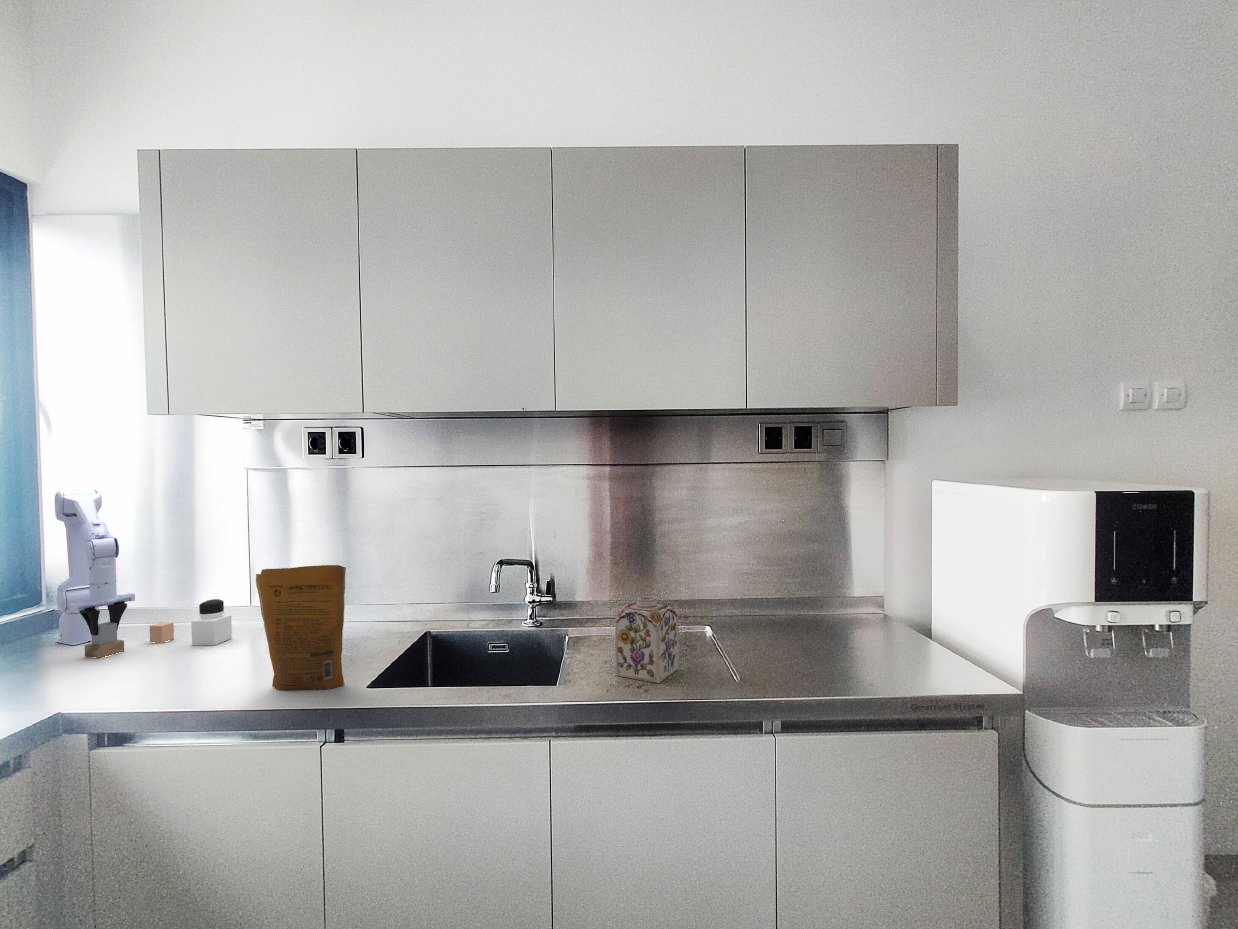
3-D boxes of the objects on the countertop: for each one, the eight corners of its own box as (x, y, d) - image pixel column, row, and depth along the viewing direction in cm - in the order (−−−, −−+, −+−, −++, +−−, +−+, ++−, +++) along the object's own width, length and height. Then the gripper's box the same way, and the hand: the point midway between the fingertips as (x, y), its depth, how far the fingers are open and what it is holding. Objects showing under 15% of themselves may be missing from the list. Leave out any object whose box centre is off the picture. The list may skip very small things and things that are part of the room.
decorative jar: (659, 684, 145) (657, 605, 144) (614, 676, 150) (612, 600, 150) (680, 669, 155) (679, 594, 155) (637, 662, 161) (636, 590, 160)
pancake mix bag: (342, 692, 143) (339, 566, 143) (256, 694, 143) (253, 568, 142) (354, 681, 150) (351, 561, 149) (271, 683, 149) (269, 563, 149)
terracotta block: (149, 643, 185) (149, 625, 185) (162, 639, 189) (161, 622, 189) (161, 643, 184) (161, 626, 184) (173, 639, 188) (173, 622, 188)
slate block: (91, 643, 173) (91, 625, 173) (108, 639, 177) (108, 621, 177) (100, 645, 172) (99, 626, 172) (117, 641, 175) (116, 623, 175)
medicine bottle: (232, 638, 188) (231, 597, 188) (214, 645, 181) (213, 603, 181) (209, 638, 189) (208, 597, 189) (191, 645, 182) (190, 603, 182)
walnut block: (84, 658, 172) (84, 645, 172) (108, 651, 178) (107, 638, 178) (101, 659, 171) (100, 646, 171) (124, 652, 176) (123, 640, 176)
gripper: (79, 588, 166) (80, 641, 166) (141, 578, 179) (142, 627, 179) (64, 587, 169) (66, 638, 169) (126, 577, 182) (127, 625, 182)
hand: (104, 632), depth 174 cm, fingers closed on slate block, 4 cm apart
